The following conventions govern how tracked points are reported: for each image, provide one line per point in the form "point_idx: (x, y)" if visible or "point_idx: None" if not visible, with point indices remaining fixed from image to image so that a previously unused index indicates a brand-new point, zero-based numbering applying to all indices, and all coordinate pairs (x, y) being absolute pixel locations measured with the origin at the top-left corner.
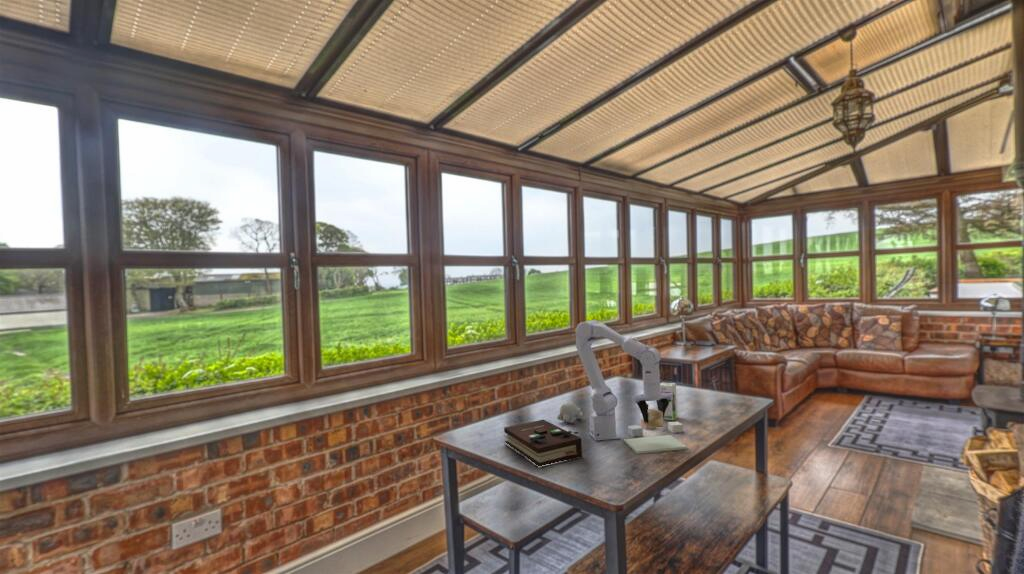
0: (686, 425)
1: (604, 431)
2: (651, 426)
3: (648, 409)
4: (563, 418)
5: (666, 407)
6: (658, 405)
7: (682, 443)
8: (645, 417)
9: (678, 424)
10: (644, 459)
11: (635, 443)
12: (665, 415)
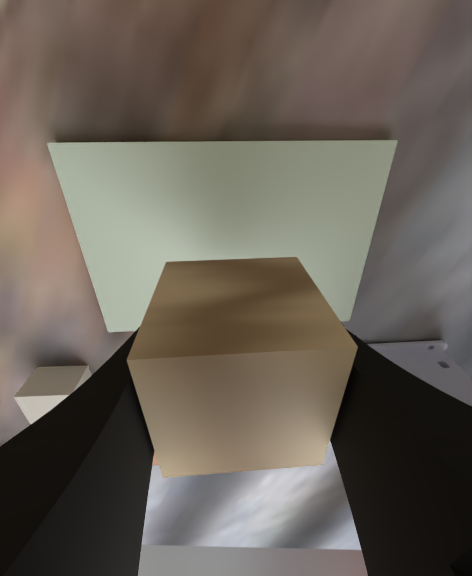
0: (8, 420)
1: (424, 374)
2: (284, 261)
3: (262, 465)
4: None
5: (3, 448)
6: (134, 519)
7: (67, 203)
8: (354, 336)
9: (35, 401)
10: (407, 17)
11: (327, 264)
12: None
